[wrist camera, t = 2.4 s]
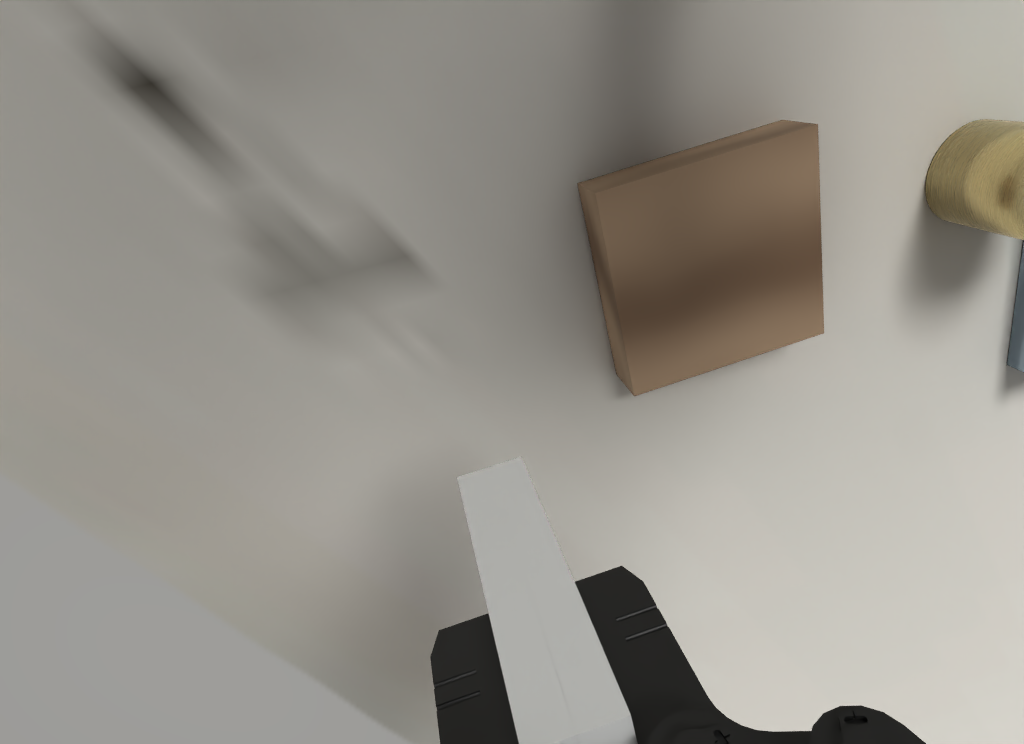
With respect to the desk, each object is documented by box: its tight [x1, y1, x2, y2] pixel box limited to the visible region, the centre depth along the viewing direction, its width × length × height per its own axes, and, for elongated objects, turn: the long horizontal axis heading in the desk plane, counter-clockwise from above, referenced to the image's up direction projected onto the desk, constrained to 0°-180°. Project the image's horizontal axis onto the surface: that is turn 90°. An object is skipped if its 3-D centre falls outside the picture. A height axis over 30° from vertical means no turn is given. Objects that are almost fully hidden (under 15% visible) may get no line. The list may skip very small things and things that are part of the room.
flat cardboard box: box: [577, 120, 824, 396], centre depth 24 cm, size 8×8×2 cm
